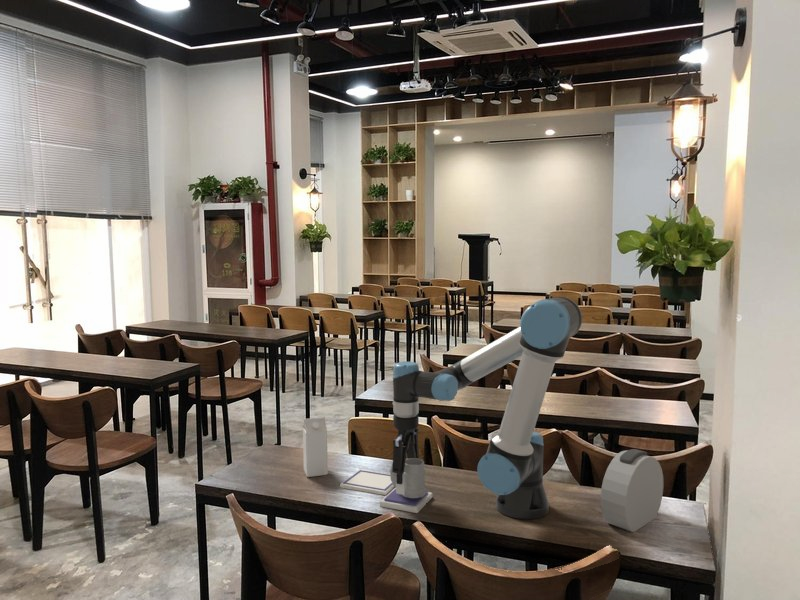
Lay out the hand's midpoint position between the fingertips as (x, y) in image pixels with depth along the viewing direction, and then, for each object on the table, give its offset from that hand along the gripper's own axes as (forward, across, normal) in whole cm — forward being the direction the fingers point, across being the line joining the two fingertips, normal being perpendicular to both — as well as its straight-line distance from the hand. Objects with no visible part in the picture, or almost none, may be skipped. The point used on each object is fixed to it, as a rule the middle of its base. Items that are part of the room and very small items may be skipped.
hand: (406, 488), depth 184 cm
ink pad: (+4, 0, 0) cm, 4 cm away
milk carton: (+5, -10, -38) cm, 39 cm away
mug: (+1, 0, 0) cm, 1 cm away
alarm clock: (+4, -13, +63) cm, 65 cm away
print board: (+4, -9, -16) cm, 19 cm away
